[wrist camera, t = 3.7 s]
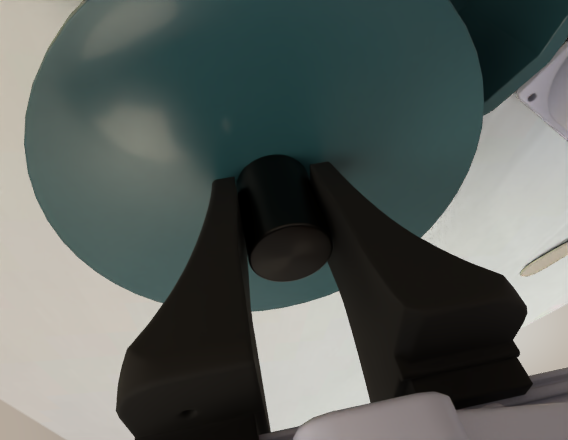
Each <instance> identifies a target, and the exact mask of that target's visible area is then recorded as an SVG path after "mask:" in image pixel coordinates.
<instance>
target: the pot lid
mask: <svg viewBox="0 0 568 440" xmlns="http://www.w3.org/2000/svg"><path fill="white" fill-rule="evenodd" d="M483 110H484V91H483V77H482V72H481V68H480V64H479V59H478V55H477V51H476V48H475V46H474V44H473V41H472V39H471V36H470V34H469V32H468V29H467V27H466V25H465V23H464V22H463V20H462V19H461V17H460V16H459V14H458V12H457V11H456V9H455V8H454V6H453V5H452V3H451V2H450V0H83V2H82V3H81V4H80V5H79V6H78V7H77V8H76V9H75V10H74V11H73V12H72V13H71V14H70V15H69V17H68V18H67V20H66V21H65V23H64V24H63V26H62V27H61V29H60V30H59V32H58V33H57V35H56V37H55V38H54V40H53V41H52V43H51V44H50V46H49V48H48V50H47V52H46V54H45V56H44V59H43V61H42V63H41V66H40V68H39V70H38V73H37V75H36V77H35V80H34V82H33V85H32V89H31V93H30V98H29V102H28V106H27V111H26V115H25V137H24V147H25V154H26V162H27V169H28V174H29V177H30V180H31V183H32V187H33V190H34V193H35V196H36V199H37V201H38V203H39V205H40V207H41V208H42V210H43V212H44V214H45V216H46V218H47V220H48V222H49V223H50V225H51V226H52V227H53V229H54V230H55V231H56V233H57V234H58V236H59V237H60V238H61V240H62V241H63V242H64V243H65V244H66V245H67V246H68V247H69V248H70V249H71V250H72V251H73V252H74V254H75V255H76V256H77V257H78V258H80V259H81V260H82V261H83V262H85V263H86V264H87V265H88V266H90V267H91V268H92V269H93V270H94V271H96V272H97V273H99V274H100V275H102V276H104V277H105V278H107V279H108V280H110V281H112V282H113V283H115V284H117V285H119V286H121V287H123V288H125V289H127V290H129V291H131V292H133V293H135V294H138V295H140V296H143V297H146V298H149V299H151V300H154V301H157V302H161V303H164V302H165V300H166V299H167V298H168V296H169V294H170V293H171V291H172V290H173V288H174V286H175V285H176V283H177V281H178V279H179V278H180V276H181V274H182V272H183V270H184V269H185V267H186V265H187V263H188V261H189V258H190V256H191V254H192V252H193V250H194V247H195V245H196V242H197V240H198V237H199V235H200V232H201V229H202V226H203V223H204V220H205V217H206V213H207V210H208V206H209V202H210V197H211V191H212V183H213V181H214V180H216V179H222V178H228V177H235V183H236V188H237V194H238V200H239V206H240V212H241V218H242V226H243V232H244V238H245V244H246V249H247V256H248V271H249V286H250V302H251V312H252V311H264V310H271V309H277V308H284V307H288V306H292V305H297V304H301V303H305V302H308V301H312V300H315V299H318V298H321V297H324V296H327V295H330V294H332V293H335V292H337V291H339V289H338V287H337V284H336V282H335V279H334V277H333V274H332V272H331V270H330V267H329V265H328V262H327V261H328V259H329V258H330V256H331V253H332V247H333V244H332V239H331V236H330V234H329V231H328V228H327V226H326V223H325V220H324V217H323V215H322V212H321V209H320V207H319V204H318V201H317V198H316V196H315V193H314V190H313V187H312V185H311V182H310V164H315V163H322V162H328V161H329V162H330V163H331V164H332V165H333V166H334V167H335V168H336V169H337V170H338V171H339V172H340V173H341V174H342V175H343V176H344V177H345V178H346V179H347V180H348V181H349V182H350V183H351V184H352V185H353V186H354V187H355V188H356V189H357V190H358V191H359V192H360V193H361V194H362V195H363V196H364V197H366V198H367V199H368V200H369V201H370V202H371V203H372V204H374V205H375V206H376V207H377V208H378V209H380V210H381V211H382V212H383V213H385V214H386V215H387V216H388V217H390V218H391V219H392V220H394V221H395V222H396V223H398V224H399V225H401V226H402V227H404V228H405V229H407V230H408V231H410V232H411V233H413V234H415V235H416V236H418V237H420V238H421V237H422V236H423V235H424V234H425V233H426V232H427V231H428V230H429V229H430V228H431V227H432V226H433V225H434V223H435V222H436V221H437V220H438V218H439V217H440V216H441V215H442V214H443V212H444V211H445V210H446V209H447V207H448V206H449V204H450V203H451V201H452V200H453V198H454V197H455V195H456V194H457V192H458V190H459V188H460V187H461V185H462V183H463V181H464V179H465V177H466V175H467V173H468V171H469V168H470V166H471V163H472V161H473V158H474V155H475V153H476V150H477V146H478V142H479V137H480V133H481V129H482V121H483Z"/></svg>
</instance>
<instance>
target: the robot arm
mask: <svg viewBox="0 0 568 440" xmlns="http://www.w3.org/2000/svg"><path fill="white" fill-rule="evenodd" d="M531 94H532V95H531ZM530 95H531V97H529V96H530ZM516 96H517V98H518V99H520V100H521V101H522V102H523V103H524V104H525V105H527V106H528V107H529V108H530V109H531V110H532V111H533V112H535V113H536V114H537V115H538V116H539V117H540V118H542V119H543V120H544V121H545V122H546V123H547V124H548V125H550V126H551V127H552V128H553V129H554V130H555V131H557V132H558V133H559V134H560V135H561V136H562V137H563V138H565V139H566V140H567V141H568V41H567V42H566V43H565V44H564V45H563V46H562V47H561V48H560V49H559V50H558V51H557V52H556V54H555V55H554V57H553V58H552V59H551V61H550V62H549V63H548V64H547V65H546V66H545V67H543V68H542V69H541V70H540V71H539V72H537V73H536V74H535V75H534V76H533V77H532V78H530V79H529V80H528V81H527V82H526V83H525V84H523V85H522V86H521V87H520V88H519V89H518V90H517V92H516ZM528 97H529V98H528ZM310 182H311V185H312V187H313V190H314V193H315V196H316V198H317V201H318V204H319V207H320V209H321V212H322V215H323V217H324V220H325V223H326V226H327V228H328V231H329V234H330V236H331V239H332V244H333V247H332V253H331V256H330V258H329V259H328V261H327V262H328V265H329V267H330V270H331V272H332V274H333V277H334V279H335V282H336V284H337V287H338V289H339V291H340V294H341V297H342V300H343V303H344V306H345V309H346V313H347V316H348V319H349V323H350V326H351V330H352V333H353V337H354V341H355V344H356V348H357V351H358V355H359V359H360V363H361V367H362V370H363V374H364V378H365V382H366V386H367V390H368V394H369V398H370V402H371V403H369V404H365V405H360V406H355V407H351V408H346V409H342V410H337V411H332V412H329V413H326V414H323V415H320V416H317V417H314V418H312V419H310V420H309V421H307V422H305V423H304V424H302V425H301V426H298V427H294V428H289V429H285V430H280V431H275V432H271V431H270V425H269V419H268V413H267V407H266V401H265V395H264V389H263V383H262V377H261V371H260V365H259V359H258V353H257V347H256V340H255V334H254V328H253V322H252V313H251V302H250V286H249V271H248V256H247V249H246V244H245V238H244V232H243V226H242V218H241V212H240V206H239V200H238V194H237V188H236V183H235V177H228V178H222V179H216V180H214V181H213V183H212V191H211V197H210V202H209V206H208V210H207V213H206V217H205V220H204V223H203V226H202V229H201V232H200V235H199V237H198V240H197V242H196V245H195V247H194V250H193V252H192V254H191V256H190V258H189V261H188V263H187V265H186V267H185V269H184V270H183V272H182V274H181V276H180V278H179V279H178V281H177V283H176V285H175V286H174V288H173V290H172V291H171V293H170V294H169V296H168V298H167V299H166V300H165V302H164V303H163V305H162V306H161V307H160V309H159V310H158V312H157V313H156V314H155V316H154V317H153V319H152V320H151V321H150V323H149V324H148V325H147V326H146V328H145V329H144V330H143V331H142V332H141V333H140V335H139V336H138V337H137V338H136V339H135V341H134V342H133V343H132V344H131V345H130V346H129V348H128V349H127V351H126V354H125V358H124V361H123V364H122V368H121V372H120V377H119V382H118V391H117V404H116V412H117V414H118V416H119V418H120V419H121V420H122V422H123V423H124V424H125V425H126V427H127V428H128V429H129V430H130V432H131V433H132V434H133V435H134V437H135V440H568V368H563V369H559V370H554V371H549V372H545V373H540V374H536V375H532V376H528V375H527V373H526V371H525V370H524V368H523V367H522V365H521V363H520V362H519V360H518V359H517V357H518V356H519V355H520V351H519V349H518V348H517V346H516V345H515V343H514V341H513V339H514V337H515V336H516V334H517V332H518V331H519V329H520V327H521V326H522V324H523V322H524V320H525V317H526V315H527V306H526V305H525V303H524V302H523V300H522V299H521V298H520V296H519V294H518V293H517V292H516V290H515V289H514V287H513V286H512V285H511V284H510V283H509V282H508V280H507V279H506V278H505V277H504V276H503V275H501V274H499V273H496V272H493V271H491V270H488V269H485V268H483V267H480V266H477V265H475V264H472V263H470V262H467V261H465V260H463V259H461V258H458V257H456V256H454V255H452V254H450V253H448V252H446V251H444V250H442V249H440V248H438V247H436V246H434V245H432V244H430V243H429V242H427V241H425V240H423V239H421V238H420V237H418V236H416V235H415V234H413V233H411V232H410V231H408V230H407V229H405V228H404V227H402V226H401V225H399V224H398V223H396V222H395V221H394V220H392V219H391V218H390V217H388V216H387V215H386V214H385V213H383V212H382V211H381V210H380V209H378V208H377V207H376V206H375V205H374V204H372V203H371V202H370V201H369V200H368V199H367V198H366V197H364V196H363V195H362V194H361V193H360V192H359V191H358V190H357V189H356V188H355V187H354V186H353V185H352V184H351V183H350V182H349V181H348V180H347V179H346V178H345V177H344V176H343V175H342V174H341V173H340V172H339V171H338V170H337V169H336V168H335V167H334V166H333V165H332V164H331V163H330V162H329V161H328V162H322V163H315V164H310Z"/></svg>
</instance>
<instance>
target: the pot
mask: <svg viewBox="0 0 568 440" xmlns="http://www.w3.org/2000/svg"><path fill="white" fill-rule="evenodd" d="M450 2H451V3H452V5H453V6H454V8H455V9H456V11H457V12H458V14H459V16H460V17H461V19H462V20H463V22H464V23H465V25H466V27H467V29H468V32H469V34H470V36H471V39H472V41H473V44H474V46H475V48H476V51H477V55H478V59H479V64H480V68H481V72H482V77H483V91H484V110H483V115H485V114H488V113H489V112H490V111H493V110H494V109H495V108H496V107H498V106H499V105H500V104H501V103H502V102H503V101H505V100H506V99H507V98H508V97H509V96H510V95H512V94H513V93H514V92H515V91H516V90H517V89H519V88H520V87H521V86H522V85H523V84H525V83H526V82H527V81H528V80H529V79H530V78H532V77H533V76H534V75H535V74H536V73H537V72H539V71H540V70H541V69H542V68H543V67H545V66H546V65H547V64H548V63H549V62H550V61H551V59H552V58H553V57H554V55H555V54H556V52H557V51H558V50H559V48H560V47H561V46H562V44H563V43H564V42H565V40H566V39H567V38H568V0H450Z"/></svg>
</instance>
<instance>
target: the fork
mask: <svg viewBox="0 0 568 440" xmlns="http://www.w3.org/2000/svg"><path fill="white" fill-rule="evenodd" d="M566 255H568V242H567V243H565V244H563V245H561V246H560V247H558V248H556V249H554V250H552V251H551V252H549V253H547V254H545V255H543V256H542V257H540V258H538V259H536V260H535V261H533V262H532V263H531V264H529V265H528V266H526V267H525V268H524V269H523V270H522V271H521V273H520V275H521V276H530V275H533V274H535V273H537V272H539V271H541V270H543V269H545V268H547V267H548V266H550V265H552V264H553V263H555V262H557V261H558V260H560V259H562V258H563V257H565V256H566Z"/></svg>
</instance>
